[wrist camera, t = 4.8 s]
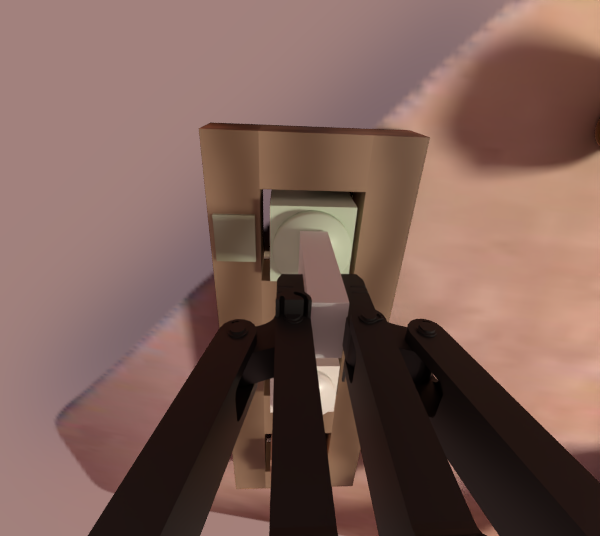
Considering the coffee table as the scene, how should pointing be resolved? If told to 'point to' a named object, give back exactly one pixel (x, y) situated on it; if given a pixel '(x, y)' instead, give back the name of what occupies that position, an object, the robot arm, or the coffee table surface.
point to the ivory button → (322, 383)
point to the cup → (597, 132)
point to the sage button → (309, 226)
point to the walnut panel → (256, 270)
